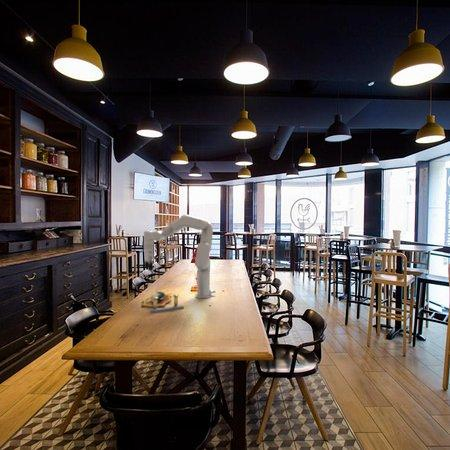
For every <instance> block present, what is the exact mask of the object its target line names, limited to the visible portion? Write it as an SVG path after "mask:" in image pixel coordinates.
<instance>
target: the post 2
mask: <svg viewBox="0 0 450 450" xmlns="http://www.w3.org/2000/svg"><path fill="white" fill-rule="evenodd" d="M172 296H173V306H179V304H178V303H179V302H178V301H179V300H178V299H179V298H178V297H179V296H180V295H179V294H176V293H175V294H173V295H172Z"/></svg>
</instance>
